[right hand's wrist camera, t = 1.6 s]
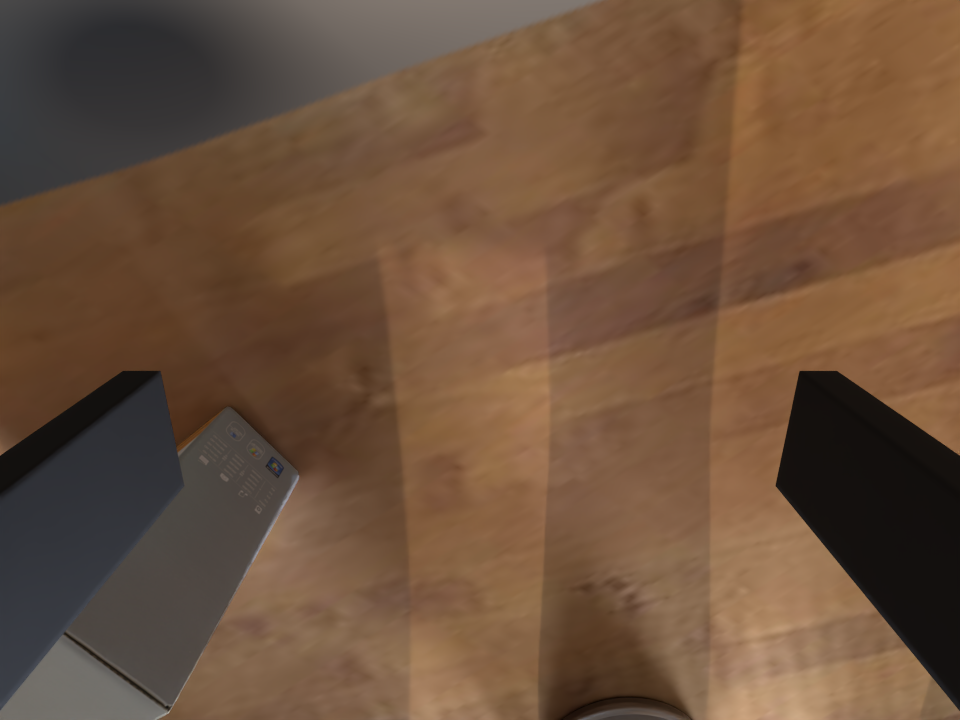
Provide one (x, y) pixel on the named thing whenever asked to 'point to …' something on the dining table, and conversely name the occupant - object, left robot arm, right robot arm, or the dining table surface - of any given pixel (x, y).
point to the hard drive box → (166, 586)
